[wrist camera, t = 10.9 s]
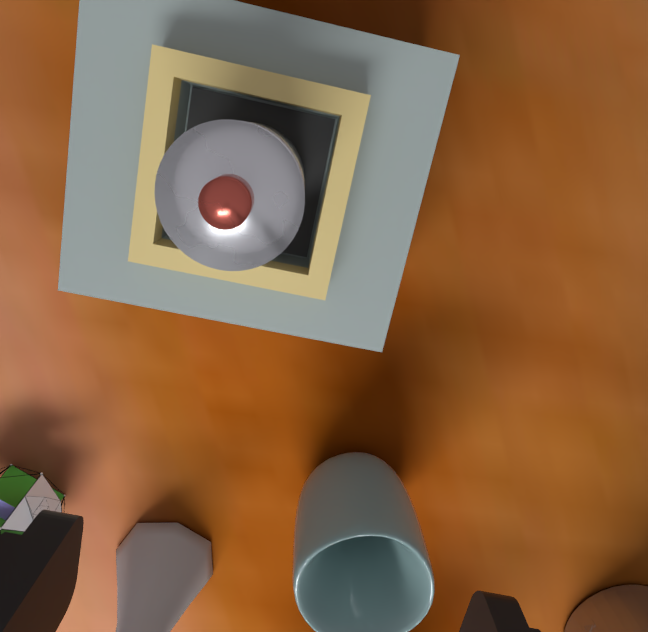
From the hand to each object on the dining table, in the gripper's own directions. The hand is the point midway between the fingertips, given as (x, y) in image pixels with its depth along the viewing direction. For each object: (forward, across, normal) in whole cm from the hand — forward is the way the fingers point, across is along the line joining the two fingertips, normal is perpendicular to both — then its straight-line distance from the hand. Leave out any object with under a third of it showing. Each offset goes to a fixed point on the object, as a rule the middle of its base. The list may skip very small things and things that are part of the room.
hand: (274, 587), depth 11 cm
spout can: (+19, +4, -6) cm, 20 cm away
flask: (+26, +6, +22) cm, 35 cm away
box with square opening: (+25, +4, -7) cm, 26 cm away
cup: (+26, -6, +13) cm, 30 cm away
